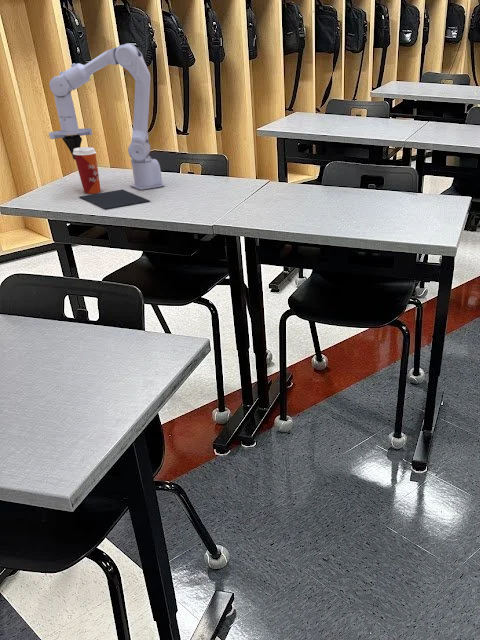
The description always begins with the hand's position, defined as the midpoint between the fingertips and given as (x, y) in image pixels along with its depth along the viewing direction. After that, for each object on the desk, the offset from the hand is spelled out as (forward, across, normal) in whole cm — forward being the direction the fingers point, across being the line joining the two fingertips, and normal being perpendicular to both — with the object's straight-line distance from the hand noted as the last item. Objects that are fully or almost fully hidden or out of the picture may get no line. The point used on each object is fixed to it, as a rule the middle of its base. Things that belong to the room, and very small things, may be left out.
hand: (76, 159), depth 232 cm
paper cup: (+10, 0, +9) cm, 13 cm away
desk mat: (+9, -1, +24) cm, 25 cm away
